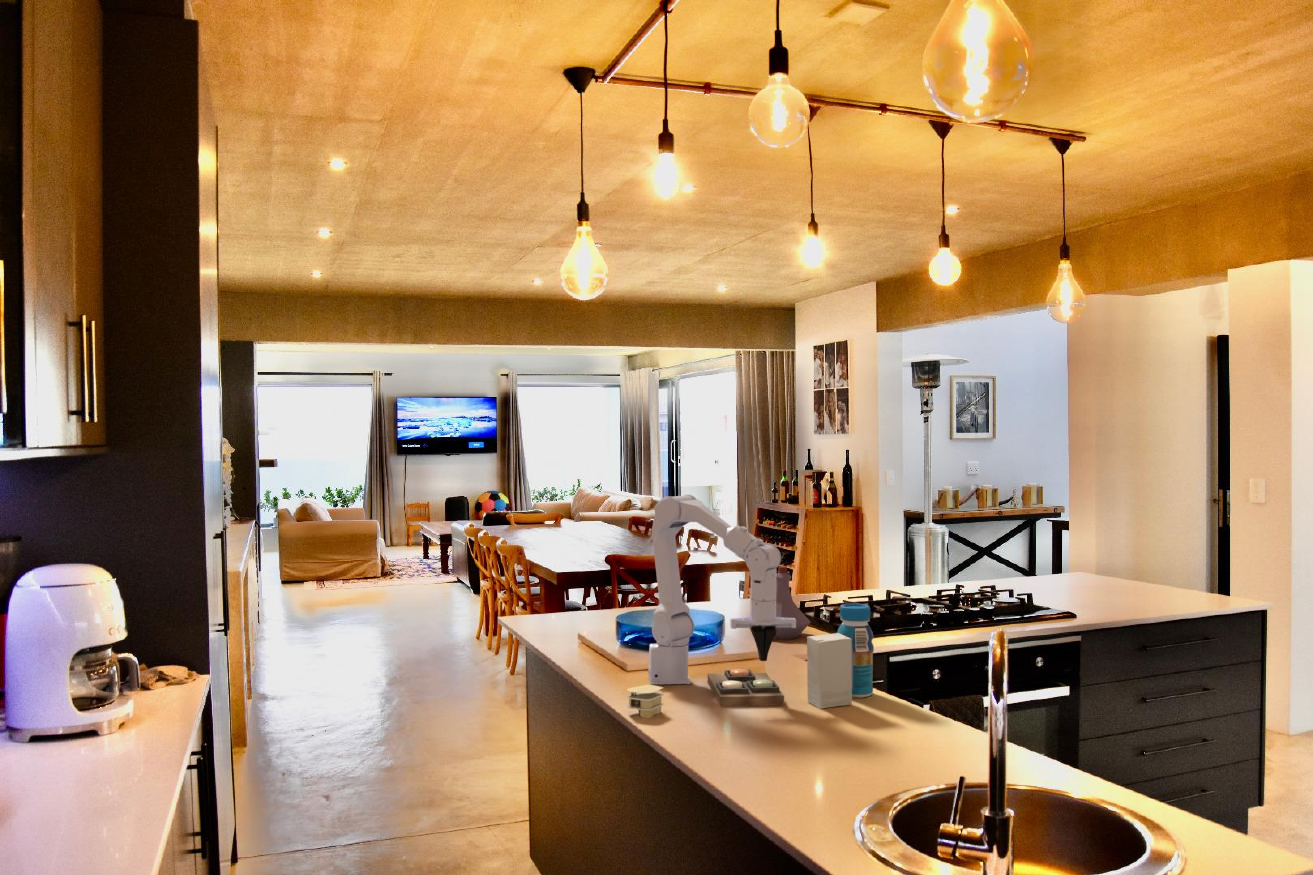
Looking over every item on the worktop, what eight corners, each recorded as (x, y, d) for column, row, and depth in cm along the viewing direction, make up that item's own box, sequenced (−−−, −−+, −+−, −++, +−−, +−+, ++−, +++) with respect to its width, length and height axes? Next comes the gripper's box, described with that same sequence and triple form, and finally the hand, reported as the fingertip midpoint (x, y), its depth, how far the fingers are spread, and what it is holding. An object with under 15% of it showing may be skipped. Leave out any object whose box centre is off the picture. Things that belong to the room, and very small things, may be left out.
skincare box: (838, 698, 219) (839, 632, 219) (853, 705, 213) (853, 637, 213) (805, 702, 216) (805, 634, 216) (819, 709, 211) (819, 640, 210)
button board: (720, 705, 213) (720, 692, 213) (707, 682, 233) (707, 669, 233) (784, 704, 214) (784, 691, 214) (765, 681, 234) (765, 668, 234)
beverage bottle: (830, 695, 222) (831, 606, 222) (841, 686, 229) (842, 601, 229) (867, 700, 218) (868, 610, 218) (877, 691, 225) (878, 604, 225)
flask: (822, 637, 284) (823, 568, 284) (779, 644, 275) (780, 572, 274) (784, 627, 297) (784, 561, 297) (742, 633, 288) (742, 565, 288)
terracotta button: (731, 678, 227) (731, 673, 227) (728, 674, 231) (728, 668, 231) (750, 678, 227) (750, 673, 227) (747, 673, 232) (747, 668, 232)
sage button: (754, 690, 217) (754, 684, 217) (751, 684, 222) (751, 679, 222) (774, 689, 218) (774, 684, 218) (770, 684, 222) (770, 679, 222)
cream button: (723, 691, 216) (723, 685, 216) (720, 685, 220) (720, 680, 220) (743, 690, 216) (743, 685, 216) (740, 685, 221) (740, 680, 221)
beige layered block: (643, 706, 214) (644, 680, 214) (676, 713, 208) (676, 687, 208) (613, 716, 206) (613, 690, 206) (645, 724, 200) (646, 697, 200)
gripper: (734, 602, 215) (733, 664, 215) (799, 602, 216) (798, 663, 216) (728, 597, 222) (728, 657, 222) (792, 596, 223) (791, 656, 223)
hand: (762, 660), depth 220 cm, fingers closed
